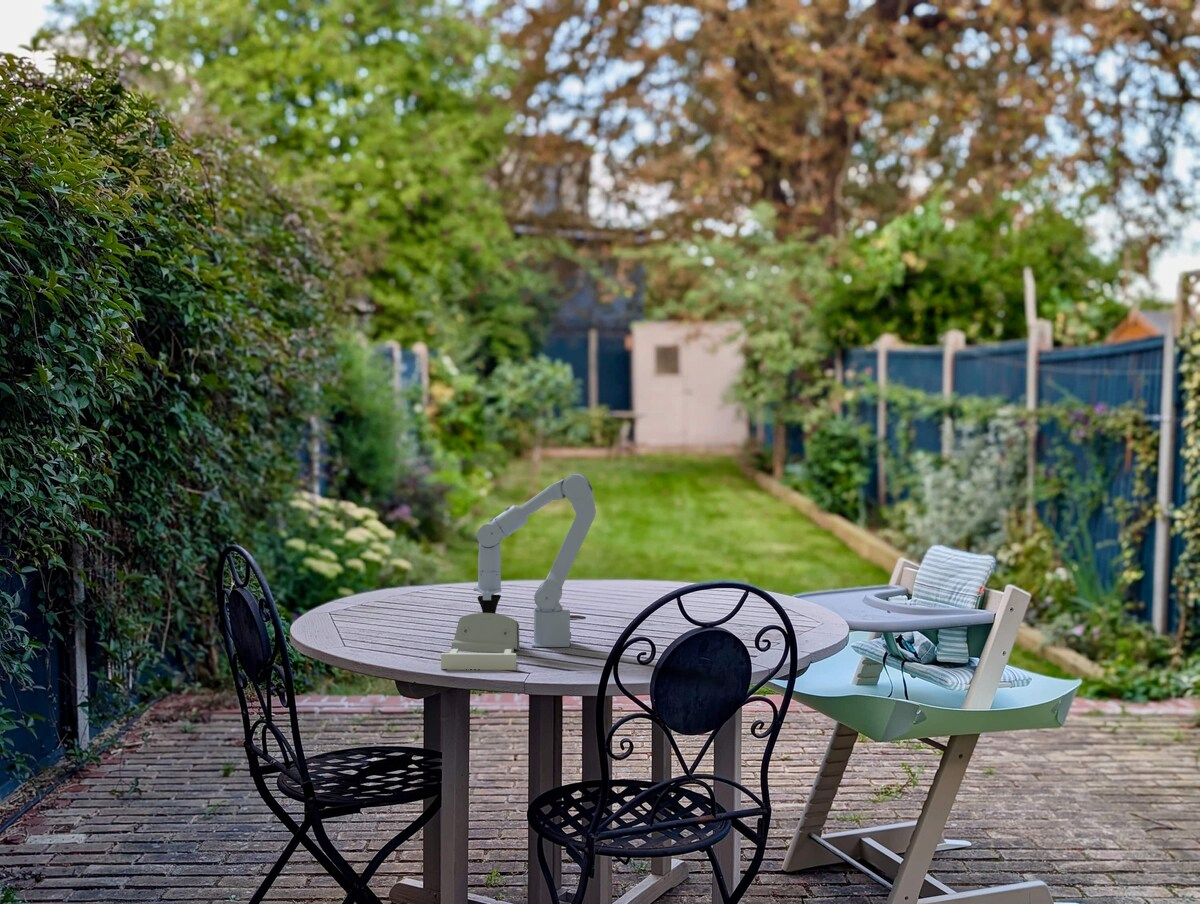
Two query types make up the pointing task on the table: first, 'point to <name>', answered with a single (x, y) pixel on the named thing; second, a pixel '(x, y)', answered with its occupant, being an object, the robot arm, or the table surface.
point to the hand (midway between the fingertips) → (489, 624)
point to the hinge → (486, 633)
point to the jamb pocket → (478, 660)
